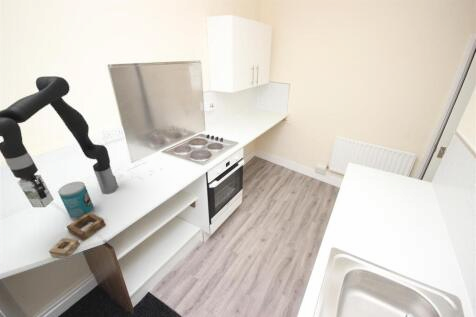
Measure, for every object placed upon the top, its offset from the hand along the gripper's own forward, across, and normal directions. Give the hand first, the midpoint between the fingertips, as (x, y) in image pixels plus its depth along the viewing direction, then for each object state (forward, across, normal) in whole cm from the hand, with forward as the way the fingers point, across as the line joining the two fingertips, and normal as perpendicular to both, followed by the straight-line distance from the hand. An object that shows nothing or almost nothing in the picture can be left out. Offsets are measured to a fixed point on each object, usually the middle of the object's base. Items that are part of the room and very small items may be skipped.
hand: (39, 194), depth 98 cm
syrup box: (+5, 0, 0) cm, 5 cm away
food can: (+28, +9, -15) cm, 33 cm away
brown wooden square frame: (+27, -6, -9) cm, 30 cm away
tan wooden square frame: (+27, -11, +4) cm, 29 cm away
